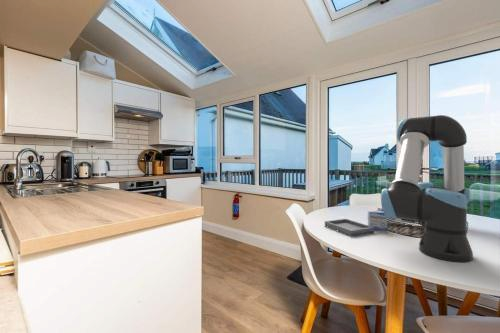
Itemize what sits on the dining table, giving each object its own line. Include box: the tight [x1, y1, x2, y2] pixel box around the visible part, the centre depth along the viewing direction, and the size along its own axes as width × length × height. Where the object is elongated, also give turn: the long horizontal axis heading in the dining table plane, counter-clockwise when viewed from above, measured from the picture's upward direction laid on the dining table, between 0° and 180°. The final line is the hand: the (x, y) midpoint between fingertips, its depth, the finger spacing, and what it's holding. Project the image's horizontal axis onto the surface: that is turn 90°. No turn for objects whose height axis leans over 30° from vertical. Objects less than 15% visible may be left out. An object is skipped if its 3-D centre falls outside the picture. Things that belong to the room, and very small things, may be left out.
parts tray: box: [324, 218, 375, 237], centre depth 118 cm, size 18×14×2 cm
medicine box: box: [367, 210, 388, 231], centre depth 118 cm, size 8×4×9 cm, turn 73°
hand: (383, 215), depth 120 cm, fingers open, 13 cm apart
